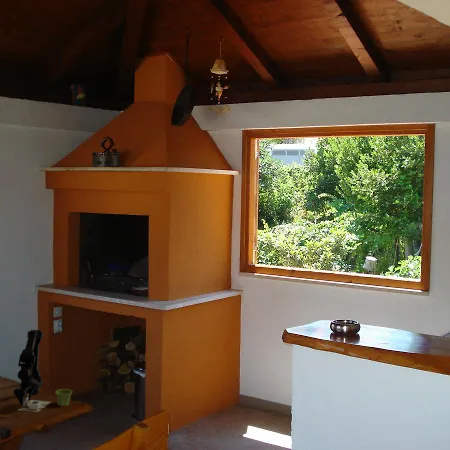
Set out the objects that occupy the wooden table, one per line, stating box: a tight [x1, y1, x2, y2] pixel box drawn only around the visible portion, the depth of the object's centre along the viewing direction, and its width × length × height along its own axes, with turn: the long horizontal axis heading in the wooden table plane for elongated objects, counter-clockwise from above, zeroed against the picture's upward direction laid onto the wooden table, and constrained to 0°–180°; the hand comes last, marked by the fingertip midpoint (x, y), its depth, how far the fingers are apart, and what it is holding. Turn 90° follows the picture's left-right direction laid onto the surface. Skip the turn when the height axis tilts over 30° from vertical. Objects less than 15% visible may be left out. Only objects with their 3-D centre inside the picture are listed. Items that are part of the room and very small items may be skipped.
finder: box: [29, 400, 42, 410], centre depth 342 cm, size 5×5×3 cm
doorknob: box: [21, 393, 29, 408], centre depth 343 cm, size 4×4×8 cm
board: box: [17, 399, 51, 413], centre depth 347 cm, size 18×12×2 cm, turn 173°
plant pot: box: [55, 388, 73, 407], centre depth 352 cm, size 9×9×9 cm
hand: (25, 402), depth 343 cm, fingers open, 9 cm apart
